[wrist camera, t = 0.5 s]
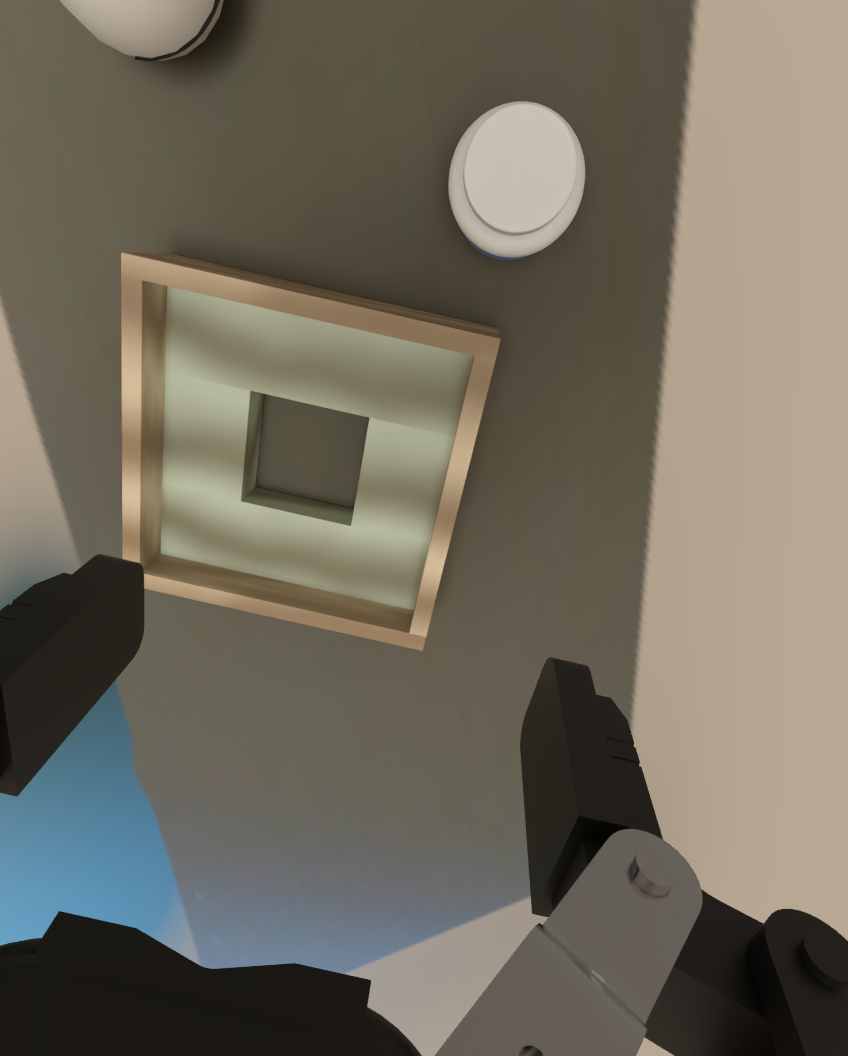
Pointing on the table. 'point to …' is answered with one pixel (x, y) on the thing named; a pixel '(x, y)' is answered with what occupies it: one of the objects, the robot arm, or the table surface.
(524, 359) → the table surface
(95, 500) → the table surface
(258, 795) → the table surface
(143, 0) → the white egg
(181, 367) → the bore box
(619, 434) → the table surface
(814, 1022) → the robot arm
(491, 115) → the pill bottle
